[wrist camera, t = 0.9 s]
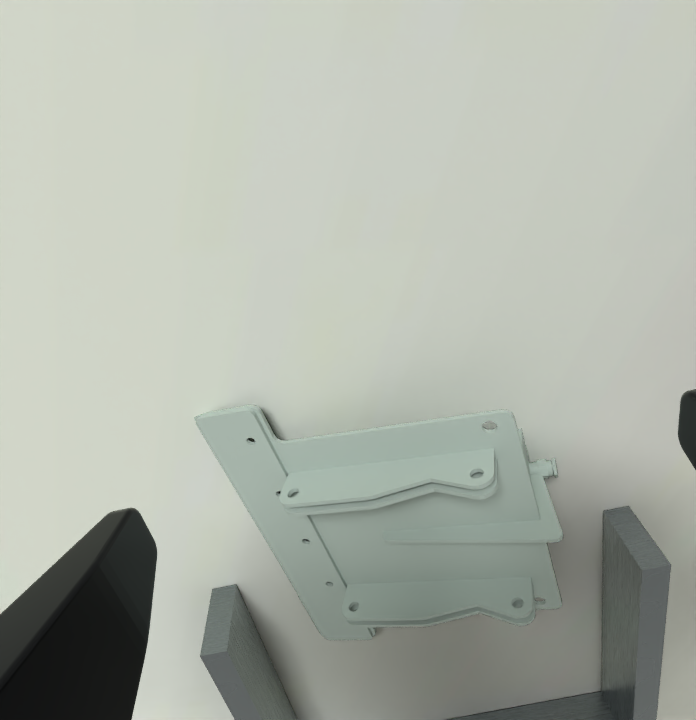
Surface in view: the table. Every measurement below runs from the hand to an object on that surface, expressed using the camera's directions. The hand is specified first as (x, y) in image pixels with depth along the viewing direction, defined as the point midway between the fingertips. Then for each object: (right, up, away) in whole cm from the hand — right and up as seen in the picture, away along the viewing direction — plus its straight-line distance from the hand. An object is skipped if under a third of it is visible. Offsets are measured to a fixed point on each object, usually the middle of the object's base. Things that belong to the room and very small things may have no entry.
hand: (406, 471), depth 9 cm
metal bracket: (+1, -4, +17) cm, 18 cm away
